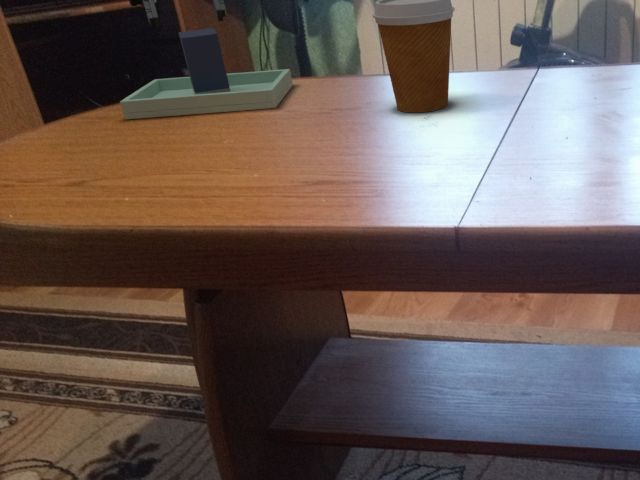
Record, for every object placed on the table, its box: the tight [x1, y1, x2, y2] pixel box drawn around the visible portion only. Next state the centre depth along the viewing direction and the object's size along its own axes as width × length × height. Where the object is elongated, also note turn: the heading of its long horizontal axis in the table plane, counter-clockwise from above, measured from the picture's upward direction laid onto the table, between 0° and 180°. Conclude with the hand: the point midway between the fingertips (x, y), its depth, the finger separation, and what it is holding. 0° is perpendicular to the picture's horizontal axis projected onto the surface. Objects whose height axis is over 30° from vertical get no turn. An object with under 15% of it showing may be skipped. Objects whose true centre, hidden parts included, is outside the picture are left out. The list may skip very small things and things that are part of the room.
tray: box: [119, 68, 294, 120], centre depth 100 cm, size 20×14×2 cm
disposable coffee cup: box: [372, 0, 456, 113], centre depth 87 cm, size 10×10×12 cm
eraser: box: [178, 27, 231, 95], centre depth 98 cm, size 6×4×8 cm
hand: (189, 21), depth 103 cm, fingers open, 8 cm apart
